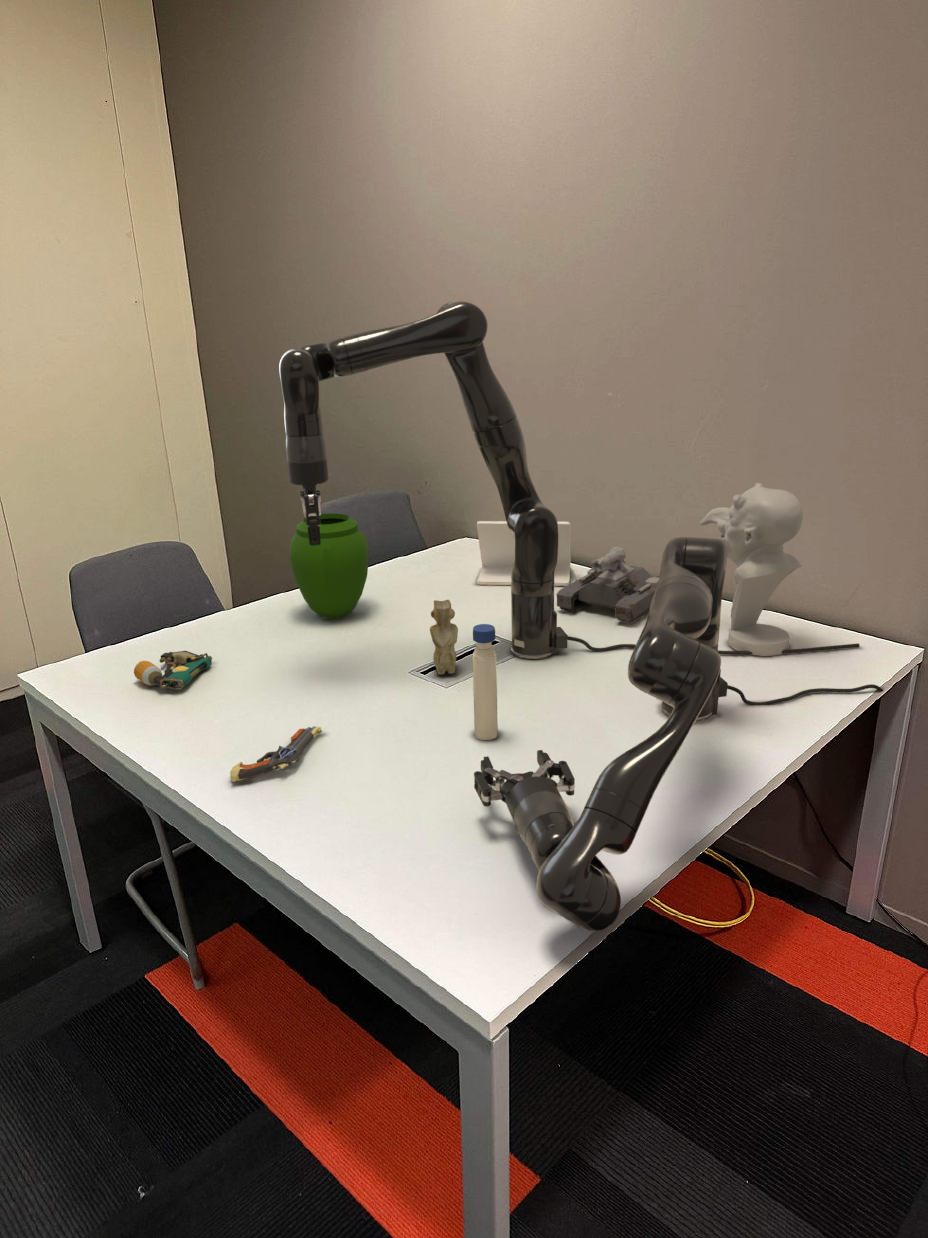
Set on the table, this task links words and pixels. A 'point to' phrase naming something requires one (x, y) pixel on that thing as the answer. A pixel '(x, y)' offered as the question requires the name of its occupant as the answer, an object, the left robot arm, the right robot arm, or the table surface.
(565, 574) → the tablet stand
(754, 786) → the table surface
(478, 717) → the bottle
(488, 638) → the cap
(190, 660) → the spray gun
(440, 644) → the sculpture
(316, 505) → the left robot arm
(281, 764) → the toy gun
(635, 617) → the toy
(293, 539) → the vase
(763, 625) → the bust sculpture
